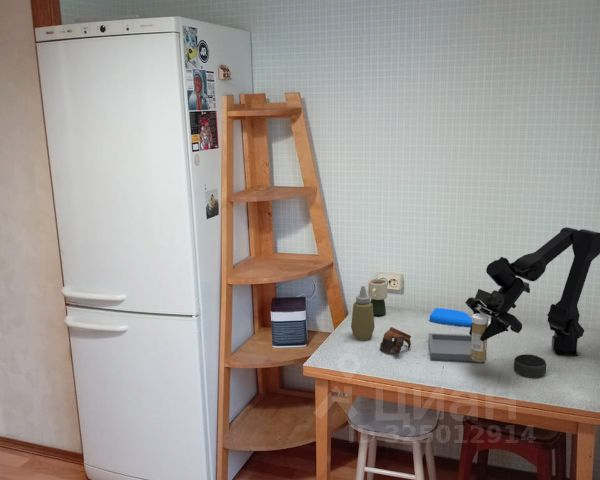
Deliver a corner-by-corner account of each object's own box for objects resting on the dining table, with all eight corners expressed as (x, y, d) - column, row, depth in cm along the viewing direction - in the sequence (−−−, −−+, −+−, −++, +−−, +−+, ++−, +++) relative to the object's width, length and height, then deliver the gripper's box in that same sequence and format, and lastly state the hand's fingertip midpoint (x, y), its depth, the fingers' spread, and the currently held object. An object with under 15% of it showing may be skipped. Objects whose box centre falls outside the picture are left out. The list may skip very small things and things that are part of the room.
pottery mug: (374, 346, 193) (384, 323, 194) (400, 358, 194) (410, 335, 195) (383, 352, 181) (394, 328, 182) (411, 364, 182) (421, 340, 183)
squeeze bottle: (347, 339, 198) (347, 289, 194) (354, 331, 205) (354, 282, 201) (371, 343, 195) (371, 291, 191) (377, 334, 202) (377, 284, 198)
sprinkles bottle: (489, 359, 170) (492, 316, 167) (479, 363, 168) (481, 319, 165) (477, 354, 174) (479, 311, 171) (466, 358, 172) (468, 315, 169)
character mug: (373, 308, 227) (373, 276, 224) (391, 310, 224) (391, 278, 221) (363, 317, 218) (363, 284, 215) (381, 320, 215) (382, 286, 212)
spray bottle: (428, 315, 211) (499, 326, 201) (435, 306, 221) (503, 316, 211) (428, 323, 212) (499, 334, 202) (435, 313, 222) (502, 323, 211)
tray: (477, 342, 194) (478, 335, 193) (484, 363, 178) (485, 355, 178) (428, 340, 196) (428, 333, 196) (430, 360, 181) (431, 352, 180)
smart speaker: (508, 373, 172) (509, 360, 171) (520, 363, 178) (521, 350, 177) (539, 382, 166) (540, 369, 165) (550, 371, 173) (551, 358, 172)
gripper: (471, 271, 175) (440, 312, 174) (516, 288, 159) (482, 333, 157) (490, 292, 180) (460, 332, 179) (537, 311, 164) (504, 355, 162)
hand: (475, 337), depth 169 cm, fingers closed on sprinkles bottle, 4 cm apart
